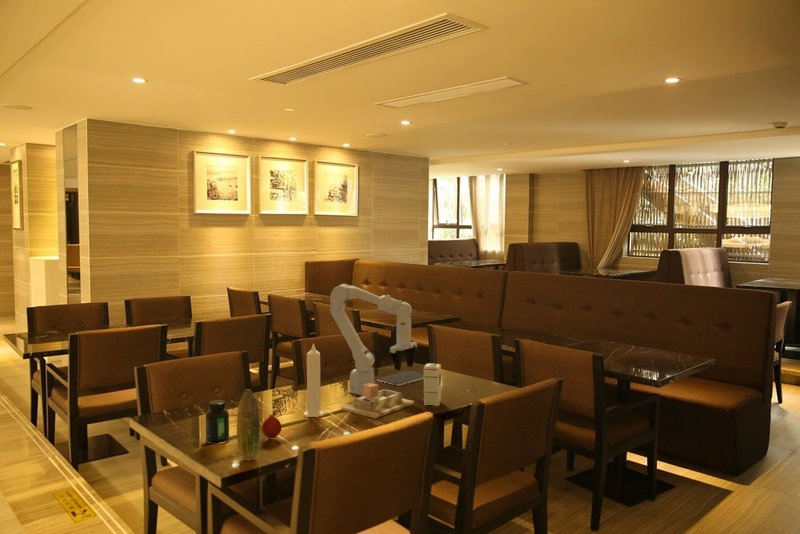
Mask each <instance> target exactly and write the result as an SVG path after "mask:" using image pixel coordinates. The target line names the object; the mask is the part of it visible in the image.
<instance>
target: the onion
mask: <svg viewBox="0 0 800 534" xmlns="http://www.w3.org/2000/svg"><path fill="white" fill-rule="evenodd" d="M281 431H282V424H281V421H280V420H279V419H278V418H277V417H276V416H275V415H274V414H272V413H271V414H269V415H268V417H267V418H265V420H264V421H263V423H262V426H261V433H262V434H263V435H264V436H265V437H266V438H268V439H269V438H274V439H276V438H277V437H278V436H279V435H280V434H281Z"/></svg>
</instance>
